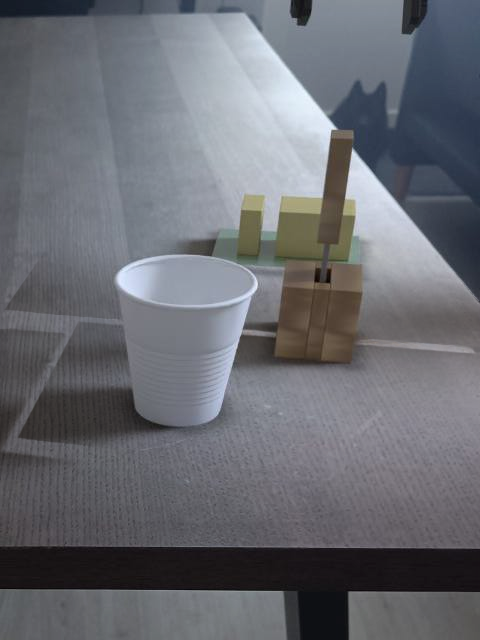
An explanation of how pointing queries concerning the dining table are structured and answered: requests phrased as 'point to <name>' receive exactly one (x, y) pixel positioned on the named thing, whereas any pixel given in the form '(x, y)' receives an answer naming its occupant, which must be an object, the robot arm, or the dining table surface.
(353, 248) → the board
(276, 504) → the dining table surface
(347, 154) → the knife
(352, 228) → the butter block
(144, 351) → the cup
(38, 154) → the dining table surface
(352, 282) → the knife holder
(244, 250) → the butter pat
